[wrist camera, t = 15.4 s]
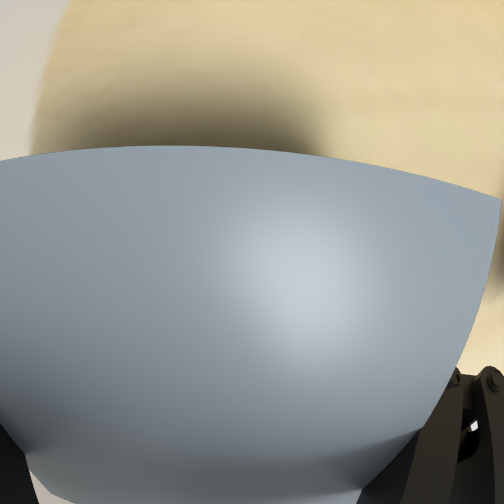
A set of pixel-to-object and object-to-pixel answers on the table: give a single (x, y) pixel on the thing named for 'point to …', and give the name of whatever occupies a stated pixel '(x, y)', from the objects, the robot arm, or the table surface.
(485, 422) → the robot arm
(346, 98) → the table surface
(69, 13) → the table surface
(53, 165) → the block
